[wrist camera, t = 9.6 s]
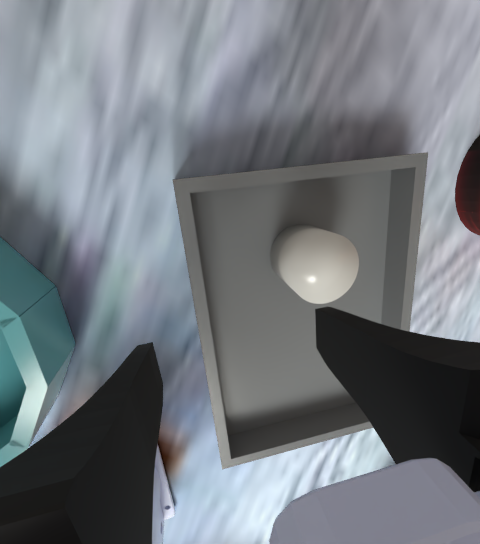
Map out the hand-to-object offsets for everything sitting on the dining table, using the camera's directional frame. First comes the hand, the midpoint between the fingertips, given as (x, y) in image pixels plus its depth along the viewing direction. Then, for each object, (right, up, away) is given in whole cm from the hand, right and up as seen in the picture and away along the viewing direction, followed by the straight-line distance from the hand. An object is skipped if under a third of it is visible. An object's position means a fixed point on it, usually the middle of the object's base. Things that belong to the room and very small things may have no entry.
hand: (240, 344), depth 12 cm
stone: (+4, +5, +8) cm, 10 cm away
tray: (+5, 0, +11) cm, 12 cm away
